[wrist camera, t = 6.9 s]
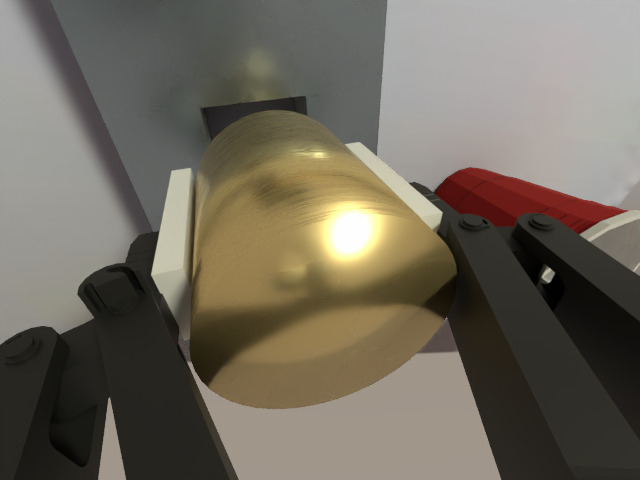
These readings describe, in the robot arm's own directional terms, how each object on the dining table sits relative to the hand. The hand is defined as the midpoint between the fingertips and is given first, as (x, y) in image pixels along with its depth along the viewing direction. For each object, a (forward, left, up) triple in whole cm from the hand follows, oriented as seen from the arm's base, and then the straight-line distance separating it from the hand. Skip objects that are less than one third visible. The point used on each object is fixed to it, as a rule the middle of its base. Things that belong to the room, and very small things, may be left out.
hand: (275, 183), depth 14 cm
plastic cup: (+8, +17, -7) cm, 20 cm away
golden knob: (0, 0, -2) cm, 2 cm away
